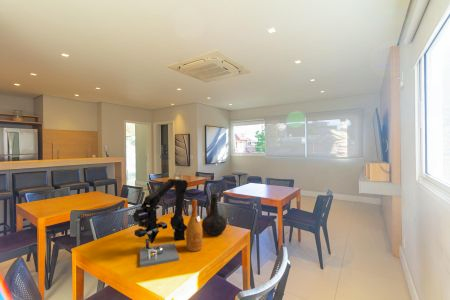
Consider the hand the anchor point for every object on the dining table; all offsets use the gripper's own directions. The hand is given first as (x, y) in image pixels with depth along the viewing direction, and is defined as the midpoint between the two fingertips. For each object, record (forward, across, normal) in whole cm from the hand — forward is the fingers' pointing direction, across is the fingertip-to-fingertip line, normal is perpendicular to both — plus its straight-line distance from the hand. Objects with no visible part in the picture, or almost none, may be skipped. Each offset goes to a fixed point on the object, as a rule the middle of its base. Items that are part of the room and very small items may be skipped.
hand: (151, 243), depth 133 cm
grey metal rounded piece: (+3, +3, +5) cm, 7 cm away
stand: (+5, 0, +8) cm, 9 cm away
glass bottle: (+5, -44, +10) cm, 46 cm away
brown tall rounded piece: (+5, -18, +17) cm, 26 cm away
